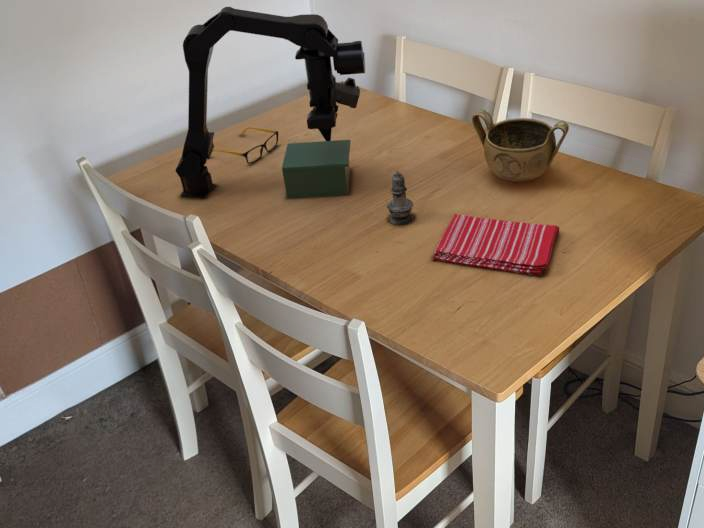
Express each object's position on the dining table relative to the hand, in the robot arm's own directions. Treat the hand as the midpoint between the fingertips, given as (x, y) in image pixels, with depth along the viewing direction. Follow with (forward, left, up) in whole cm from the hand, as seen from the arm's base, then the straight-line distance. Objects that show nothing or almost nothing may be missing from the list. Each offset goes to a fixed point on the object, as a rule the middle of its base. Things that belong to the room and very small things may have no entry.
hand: (328, 140), depth 187 cm
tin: (-4, -1, -11) cm, 12 cm away
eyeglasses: (-30, +13, -11) cm, 34 cm away
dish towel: (+43, -22, -11) cm, 50 cm away
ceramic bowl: (+43, +9, -11) cm, 46 cm away
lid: (-3, -1, -4) cm, 5 cm away
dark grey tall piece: (+20, -14, -11) cm, 27 cm away
